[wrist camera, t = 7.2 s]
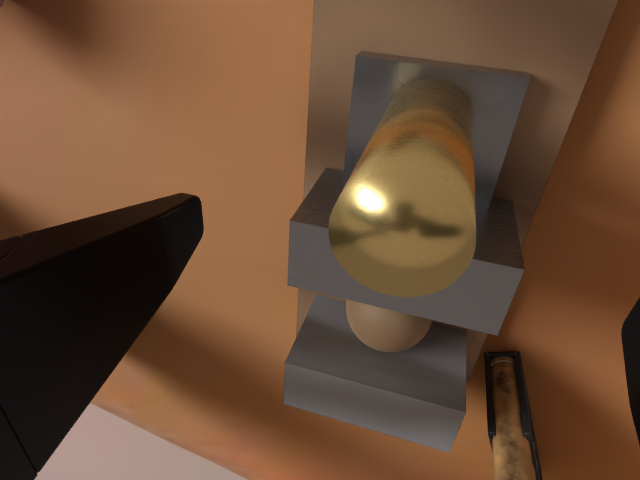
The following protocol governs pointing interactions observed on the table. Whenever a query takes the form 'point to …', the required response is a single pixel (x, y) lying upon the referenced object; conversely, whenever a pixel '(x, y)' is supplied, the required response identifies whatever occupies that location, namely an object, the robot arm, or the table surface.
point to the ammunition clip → (510, 419)
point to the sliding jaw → (418, 195)
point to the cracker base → (512, 185)
